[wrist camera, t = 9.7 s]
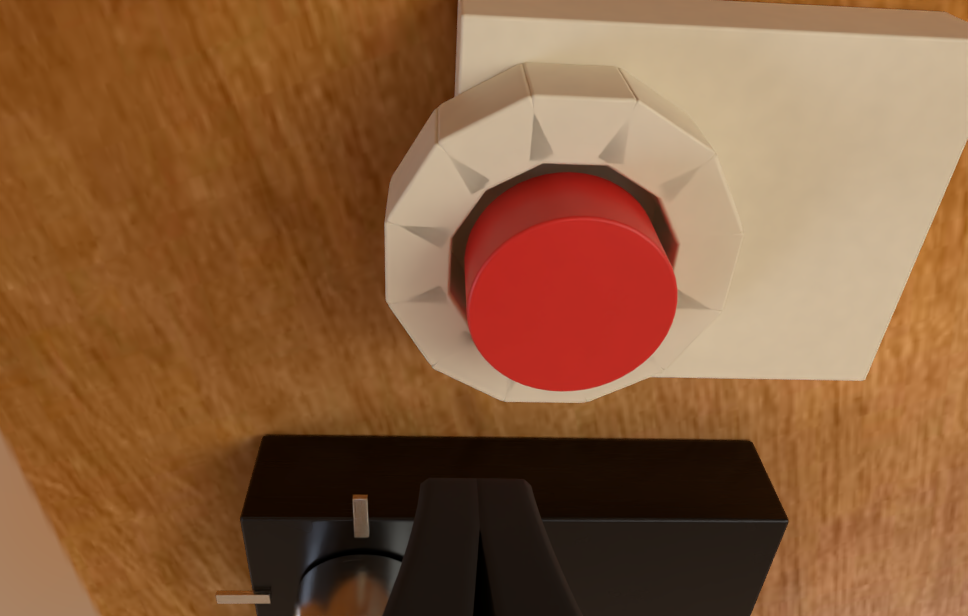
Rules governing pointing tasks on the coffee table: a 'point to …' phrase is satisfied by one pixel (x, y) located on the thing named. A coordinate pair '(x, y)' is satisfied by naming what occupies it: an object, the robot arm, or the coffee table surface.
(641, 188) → the igniter
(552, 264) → the button
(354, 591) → the stove knob
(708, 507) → the stove panel
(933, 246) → the coffee table surface
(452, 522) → the robot arm
